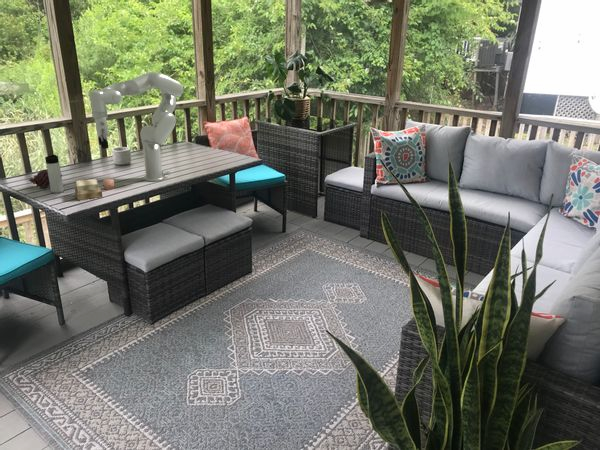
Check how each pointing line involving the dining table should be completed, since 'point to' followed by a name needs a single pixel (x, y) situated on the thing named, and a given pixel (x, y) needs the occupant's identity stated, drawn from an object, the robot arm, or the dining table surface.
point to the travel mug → (54, 174)
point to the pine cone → (41, 179)
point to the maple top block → (87, 186)
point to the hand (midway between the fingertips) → (103, 146)
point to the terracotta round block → (109, 184)
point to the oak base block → (88, 195)
